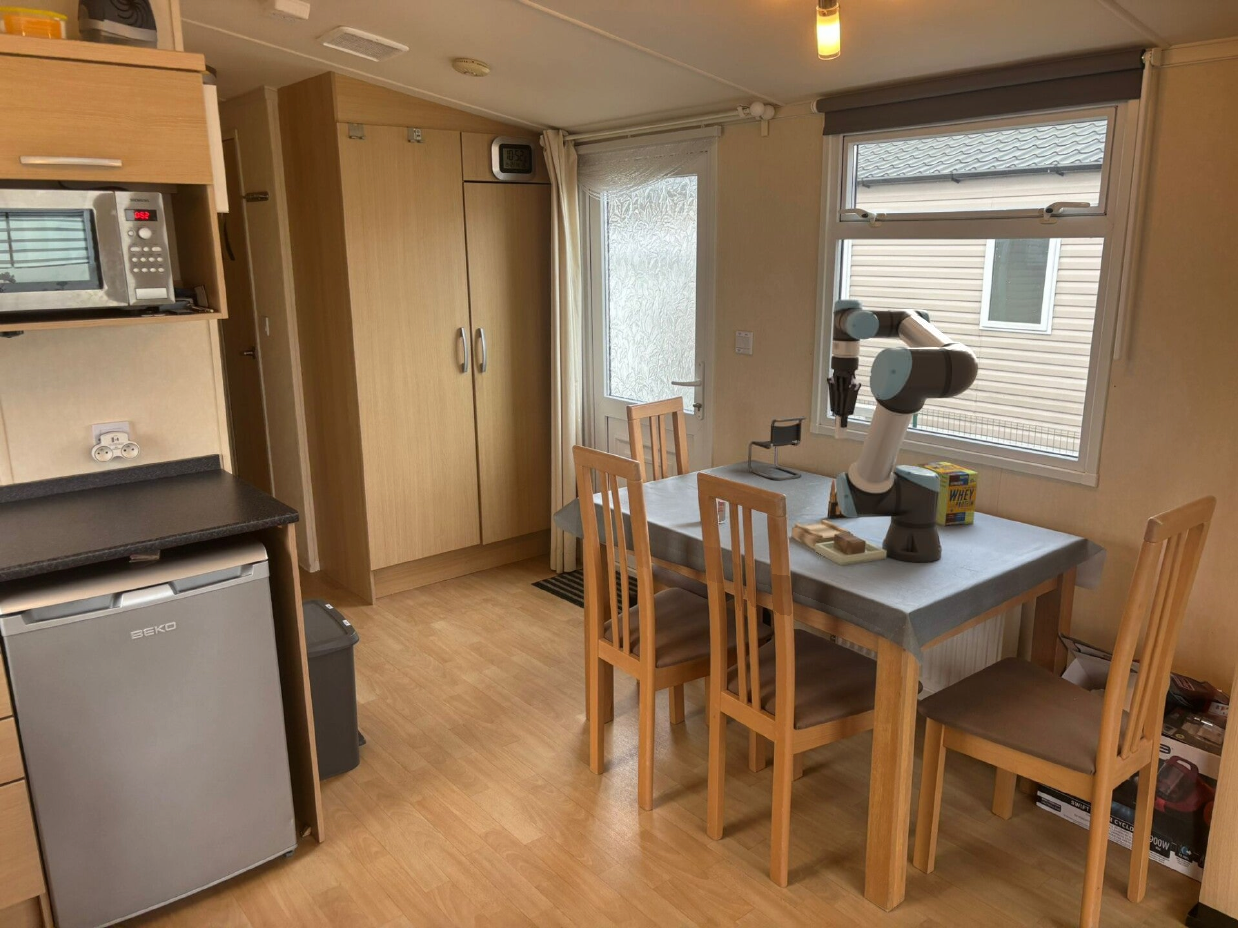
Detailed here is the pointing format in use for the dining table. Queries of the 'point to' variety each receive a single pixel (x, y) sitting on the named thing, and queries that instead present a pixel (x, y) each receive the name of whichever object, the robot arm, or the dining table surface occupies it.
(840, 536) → the walnut block rear
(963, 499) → the protein box
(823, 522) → the slot board
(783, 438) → the chair
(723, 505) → the tea bag
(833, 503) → the ammunition clip
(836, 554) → the sage tray
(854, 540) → the walnut block front
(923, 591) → the dining table surface
